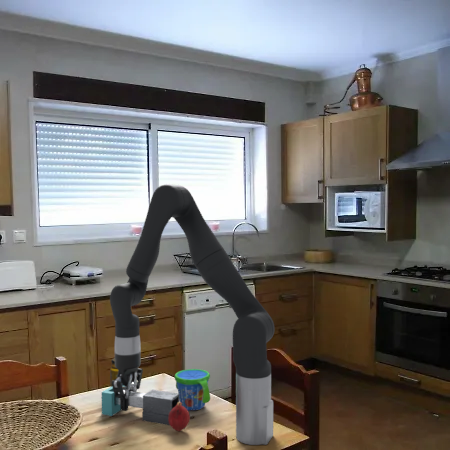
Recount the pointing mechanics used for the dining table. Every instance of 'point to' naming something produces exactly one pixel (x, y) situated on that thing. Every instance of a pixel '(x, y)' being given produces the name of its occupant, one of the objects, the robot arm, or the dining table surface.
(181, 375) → the snack cup
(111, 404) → the socket
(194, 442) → the dining table surface
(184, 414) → the onion
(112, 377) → the condiment
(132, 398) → the slip tube
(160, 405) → the sleeve
